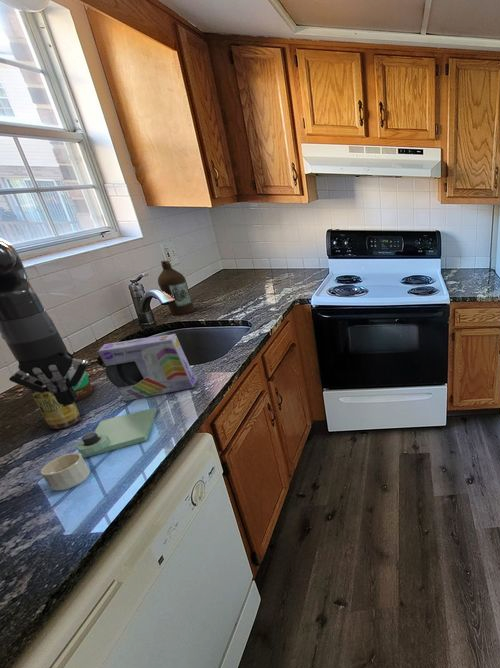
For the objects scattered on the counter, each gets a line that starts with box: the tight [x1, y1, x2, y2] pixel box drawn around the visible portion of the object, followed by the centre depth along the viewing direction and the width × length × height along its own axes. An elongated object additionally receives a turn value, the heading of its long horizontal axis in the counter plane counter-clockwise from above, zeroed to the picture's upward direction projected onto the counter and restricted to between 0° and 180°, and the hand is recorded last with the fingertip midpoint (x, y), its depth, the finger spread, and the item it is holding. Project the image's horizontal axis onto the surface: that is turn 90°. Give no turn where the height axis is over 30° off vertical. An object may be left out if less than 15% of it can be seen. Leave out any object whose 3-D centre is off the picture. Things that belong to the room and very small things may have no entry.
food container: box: [68, 358, 94, 402], centre depth 109 cm, size 12×6×10 cm, turn 159°
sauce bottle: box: [29, 375, 81, 430], centre depth 95 cm, size 7×6×20 cm
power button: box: [81, 431, 100, 446], centre depth 88 cm, size 3×3×2 cm
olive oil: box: [157, 259, 195, 316], centre depth 172 cm, size 11×11×25 cm
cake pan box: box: [97, 333, 197, 402], centre depth 109 cm, size 19×5×18 cm, turn 109°
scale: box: [76, 407, 157, 458], centre depth 94 cm, size 13×15×3 cm
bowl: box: [39, 452, 92, 491], centre depth 80 cm, size 6×6×5 cm
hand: (69, 403), depth 83 cm, fingers closed
